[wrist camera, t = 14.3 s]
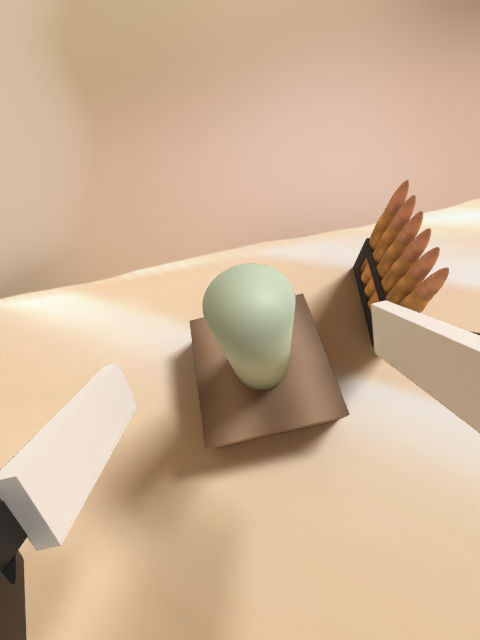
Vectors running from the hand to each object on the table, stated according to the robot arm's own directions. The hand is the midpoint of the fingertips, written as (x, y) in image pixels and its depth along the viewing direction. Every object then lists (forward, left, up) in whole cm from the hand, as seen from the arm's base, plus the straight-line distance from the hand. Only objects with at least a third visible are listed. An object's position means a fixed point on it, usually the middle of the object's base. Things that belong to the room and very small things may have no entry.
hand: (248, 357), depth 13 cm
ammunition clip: (-15, -8, -14) cm, 22 cm away
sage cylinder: (-1, -3, -10) cm, 11 cm away
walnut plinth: (-1, -3, -14) cm, 15 cm away
